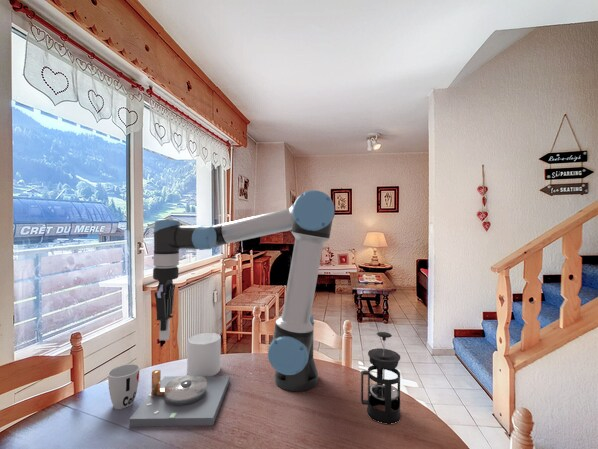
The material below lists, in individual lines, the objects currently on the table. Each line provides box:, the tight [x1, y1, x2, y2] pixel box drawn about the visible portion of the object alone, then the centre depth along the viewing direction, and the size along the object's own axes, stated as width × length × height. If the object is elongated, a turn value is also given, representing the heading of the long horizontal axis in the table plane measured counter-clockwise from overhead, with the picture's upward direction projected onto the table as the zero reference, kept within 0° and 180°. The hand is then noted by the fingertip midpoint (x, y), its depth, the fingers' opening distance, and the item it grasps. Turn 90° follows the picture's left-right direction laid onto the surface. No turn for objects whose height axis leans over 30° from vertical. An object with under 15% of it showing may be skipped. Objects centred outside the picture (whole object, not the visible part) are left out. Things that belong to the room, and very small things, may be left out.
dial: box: [150, 369, 207, 405], centre depth 88 cm, size 16×12×6 cm
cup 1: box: [107, 363, 140, 410], centre depth 87 cm, size 8×8×10 cm
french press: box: [360, 331, 402, 425], centre depth 84 cm, size 12×9×23 cm
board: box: [128, 375, 231, 427], centre depth 88 cm, size 22×22×2 cm
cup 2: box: [186, 332, 222, 376], centre depth 107 cm, size 12×12×12 cm
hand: (164, 339), depth 94 cm, fingers closed
